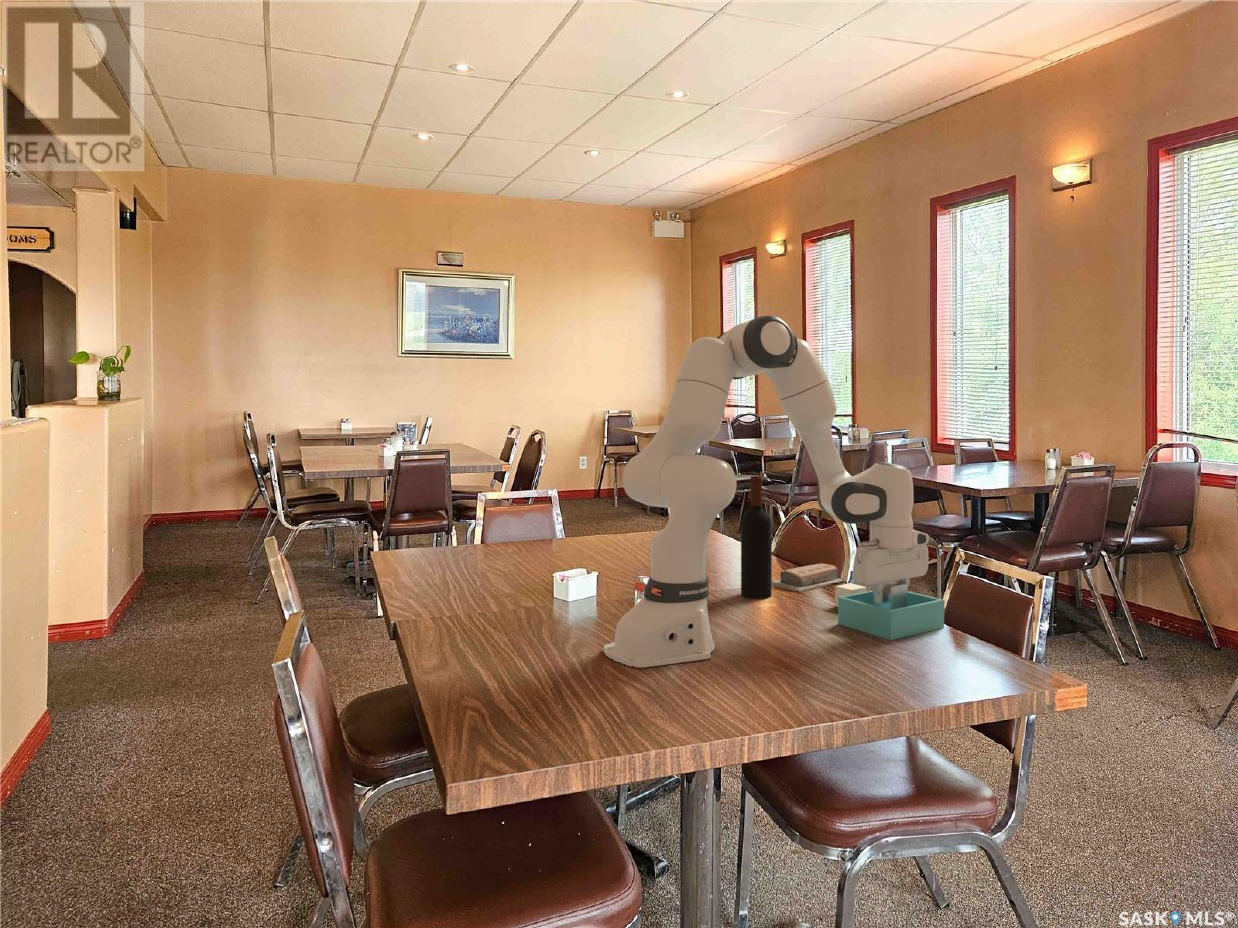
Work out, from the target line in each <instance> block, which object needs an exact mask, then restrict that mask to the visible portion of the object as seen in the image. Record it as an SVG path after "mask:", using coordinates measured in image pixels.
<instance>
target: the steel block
mask: <svg viewBox="0 0 1238 928" xmlns="http://www.w3.org/2000/svg"><path fill="white" fill-rule="evenodd" d="M881 591H882V593H883V594H884V595H886V598H885V600H886V601H885V603H881V604H879V603H876V602H875V594H874V593H873V605H874V606H878V607H882V608H885V609H889V610H894V609H898V608H903V607H907V591H908V588H907V584H906V583H902V582H898V580H897V581H892V582H886V583H883V588H881Z"/></svg>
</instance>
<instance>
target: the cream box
mask: <svg viewBox="0 0 1238 928" xmlns="http://www.w3.org/2000/svg"><path fill="white" fill-rule="evenodd" d="M834 587H835V588H834V589H835V600H834V601H835V605H834V606H835V607H837V608H838V597H841V596H846V595H852V594H857V593H862V592H867V591H868V590H867V587H868V586H862V585H858V584H855V583H851V582H850V583H845V584H844V583H843V584H839V585H835V586H834Z"/></svg>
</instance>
